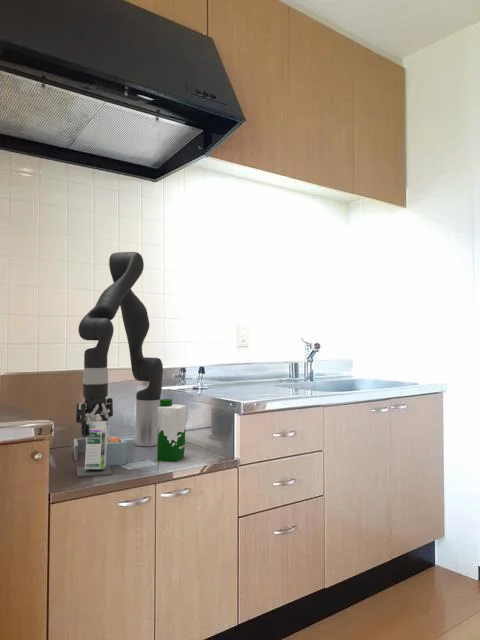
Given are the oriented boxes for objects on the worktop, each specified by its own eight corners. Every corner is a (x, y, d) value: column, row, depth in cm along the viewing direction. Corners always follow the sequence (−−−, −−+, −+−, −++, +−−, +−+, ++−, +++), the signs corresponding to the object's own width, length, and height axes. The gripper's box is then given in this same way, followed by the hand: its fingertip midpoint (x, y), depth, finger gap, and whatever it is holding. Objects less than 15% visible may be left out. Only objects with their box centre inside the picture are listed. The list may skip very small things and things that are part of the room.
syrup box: (84, 469, 158) (86, 421, 160) (87, 467, 164) (89, 420, 166) (103, 469, 158) (105, 421, 160) (106, 467, 164) (108, 420, 166)
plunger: (118, 454, 174) (118, 436, 174) (119, 456, 171) (119, 438, 171) (109, 454, 173) (109, 436, 173) (109, 457, 170) (110, 438, 170)
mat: (109, 466, 167) (109, 465, 167) (112, 474, 157) (112, 473, 157) (76, 468, 163) (76, 467, 163) (77, 477, 154) (77, 475, 154)
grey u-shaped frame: (109, 450, 188) (110, 437, 188) (113, 458, 177) (113, 443, 178) (73, 453, 184) (73, 438, 184) (74, 460, 173) (74, 445, 173)
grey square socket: (123, 459, 176) (124, 438, 177) (126, 464, 170) (126, 442, 170) (102, 460, 174) (102, 439, 174) (104, 465, 167) (104, 443, 168)
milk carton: (162, 455, 183) (163, 397, 184) (187, 456, 182) (188, 398, 182) (153, 461, 175) (154, 401, 175) (179, 462, 173) (180, 402, 173)
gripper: (101, 379, 171) (100, 428, 171) (69, 383, 158) (69, 437, 158) (119, 380, 168) (119, 430, 168) (89, 384, 155) (88, 439, 155)
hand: (94, 433), depth 163 cm, fingers open, 8 cm apart
